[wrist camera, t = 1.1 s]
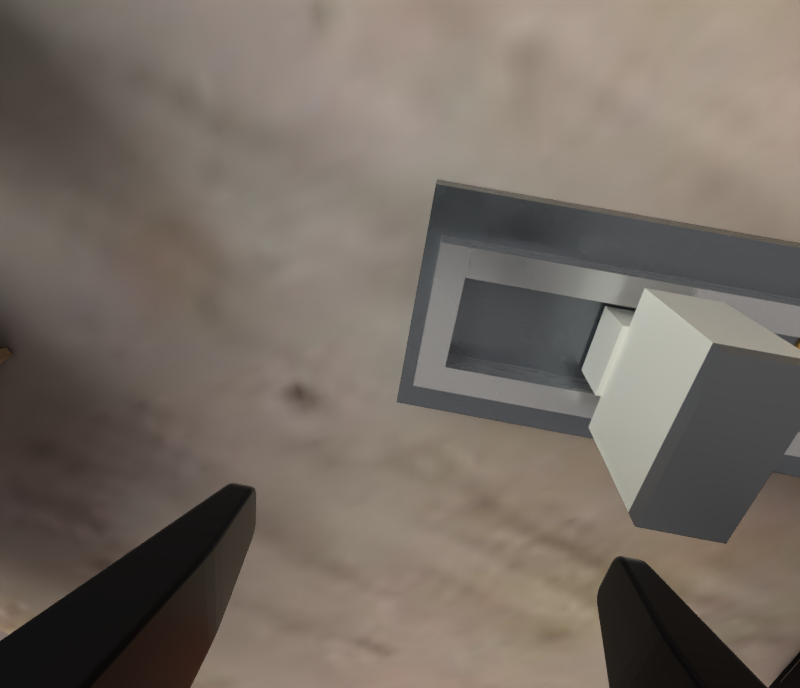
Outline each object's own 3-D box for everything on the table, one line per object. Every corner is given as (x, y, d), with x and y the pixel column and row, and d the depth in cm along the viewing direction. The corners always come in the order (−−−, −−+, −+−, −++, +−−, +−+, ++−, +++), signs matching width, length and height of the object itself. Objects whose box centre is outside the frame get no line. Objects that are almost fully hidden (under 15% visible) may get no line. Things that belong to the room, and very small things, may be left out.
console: (999, 278, 16) (1098, 304, 14) (857, 468, 20) (914, 516, 17) (437, 179, 17) (435, 188, 14) (400, 383, 20) (393, 418, 18)
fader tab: (701, 285, 16) (846, 374, 10) (642, 412, 18) (733, 545, 12) (618, 270, 16) (715, 350, 10) (570, 399, 18) (627, 525, 12)
